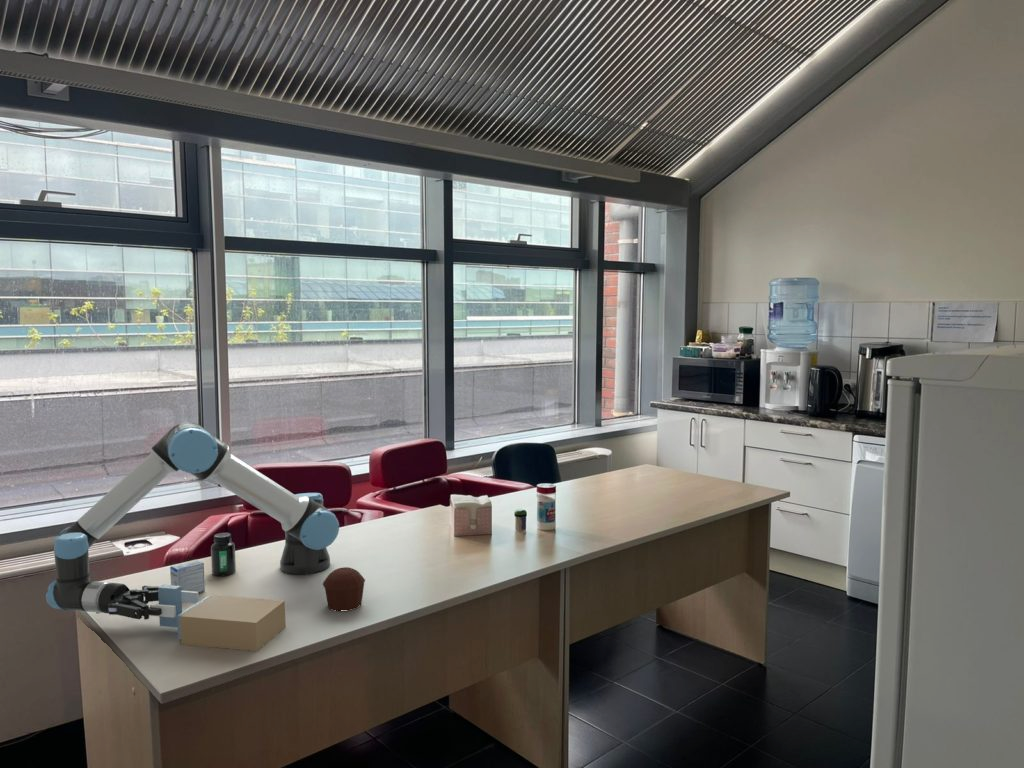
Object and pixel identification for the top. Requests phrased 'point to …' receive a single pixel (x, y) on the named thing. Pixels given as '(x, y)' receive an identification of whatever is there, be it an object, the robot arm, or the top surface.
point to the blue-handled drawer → (173, 597)
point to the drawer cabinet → (233, 622)
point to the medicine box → (188, 576)
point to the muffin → (344, 589)
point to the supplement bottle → (223, 555)
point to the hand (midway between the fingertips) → (186, 604)
